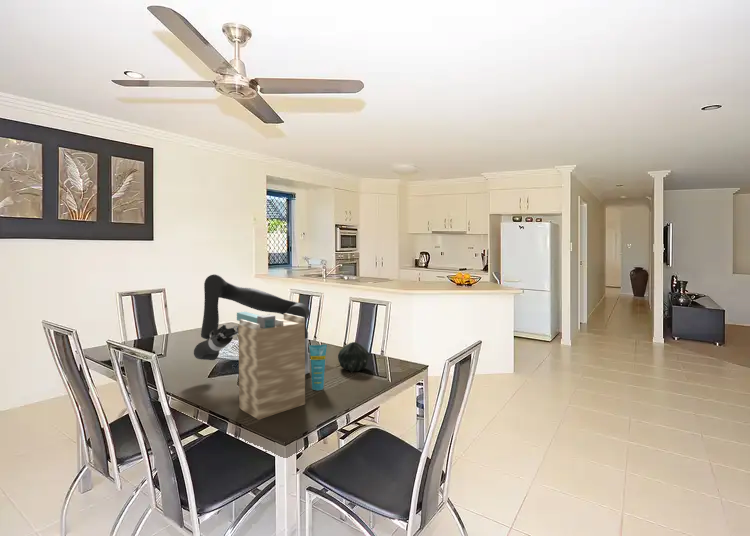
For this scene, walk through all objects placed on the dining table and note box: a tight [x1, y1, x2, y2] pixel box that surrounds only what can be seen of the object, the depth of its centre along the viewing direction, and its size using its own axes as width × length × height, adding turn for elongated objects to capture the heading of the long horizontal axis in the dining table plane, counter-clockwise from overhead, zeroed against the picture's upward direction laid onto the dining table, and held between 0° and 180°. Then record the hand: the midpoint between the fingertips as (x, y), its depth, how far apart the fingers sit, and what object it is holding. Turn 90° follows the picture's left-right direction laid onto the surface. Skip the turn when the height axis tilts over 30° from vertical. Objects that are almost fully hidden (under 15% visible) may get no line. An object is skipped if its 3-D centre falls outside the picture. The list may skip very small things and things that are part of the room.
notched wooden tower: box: [237, 313, 306, 420], centre depth 157 cm, size 14×20×34 cm
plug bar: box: [236, 311, 276, 329], centre depth 155 cm, size 21×5×4 cm, turn 45°
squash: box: [337, 341, 369, 372], centre depth 203 cm, size 14×15×15 cm
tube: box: [308, 343, 328, 391], centre depth 176 cm, size 7×5×19 cm, turn 103°
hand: (235, 325), depth 166 cm, fingers open, 8 cm apart
